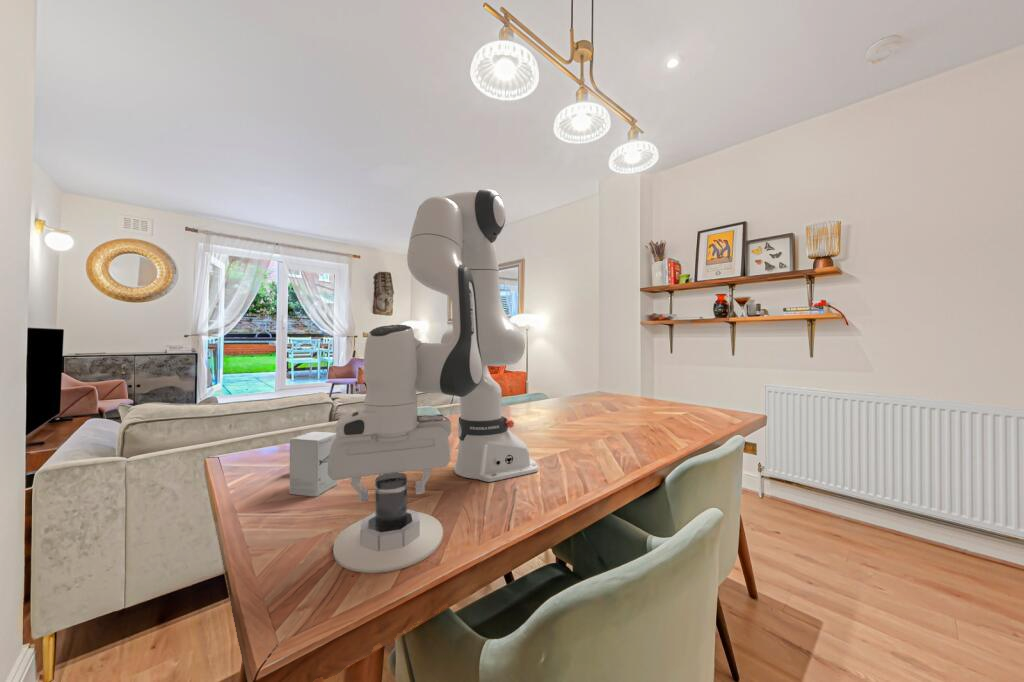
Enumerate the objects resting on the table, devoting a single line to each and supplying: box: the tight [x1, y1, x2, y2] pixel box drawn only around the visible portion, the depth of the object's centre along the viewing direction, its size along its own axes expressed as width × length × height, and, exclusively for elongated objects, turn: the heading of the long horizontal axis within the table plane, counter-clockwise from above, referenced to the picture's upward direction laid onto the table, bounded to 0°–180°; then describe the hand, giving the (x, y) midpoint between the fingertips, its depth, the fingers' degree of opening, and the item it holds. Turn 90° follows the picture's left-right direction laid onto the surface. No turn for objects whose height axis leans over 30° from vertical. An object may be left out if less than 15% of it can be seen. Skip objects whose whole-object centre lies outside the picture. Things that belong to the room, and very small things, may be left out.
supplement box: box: [289, 431, 339, 497], centre depth 87 cm, size 7×7×13 cm
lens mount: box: [332, 508, 444, 574], centre depth 66 cm, size 18×18×4 cm
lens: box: [374, 472, 408, 532], centre depth 66 cm, size 5×5×10 cm
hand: (392, 496), depth 66 cm, fingers open, 8 cm apart
